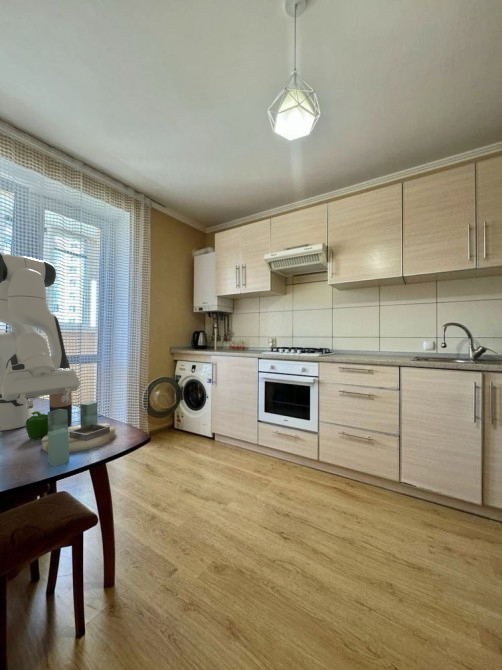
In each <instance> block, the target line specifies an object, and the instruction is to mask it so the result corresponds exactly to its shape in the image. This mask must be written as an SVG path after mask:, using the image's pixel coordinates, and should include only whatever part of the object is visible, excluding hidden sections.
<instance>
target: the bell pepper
mask: <svg viewBox="0 0 502 670" xmlns="http://www.w3.org/2000/svg"><path fill="white" fill-rule="evenodd" d="M31 414H32V415H34V416H31V417H30V418H29V419H27V421H26V426H25V430H26V434H27V436H28V438H29V439H30V440H32V441H37V440H40V439H41V440H42V439H43V437H45V436H46V435H48V414H46V413H41V412H40V411H38V410H37V411H34V412H32V413H31Z"/></svg>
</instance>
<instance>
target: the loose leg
mask: <svg viewBox="0 0 502 670" xmlns="http://www.w3.org/2000/svg"><path fill="white" fill-rule="evenodd" d="M47 454H48V456H47V457H48V458H47V459H48V461H47V462H48V464H49V465H51V466H52V467H56V466H59V465H62V464H65V463H68V462H70V453H69V431H68V430H66V429H64V428H63V429H58V430H54V431H50V432H48V452H47Z"/></svg>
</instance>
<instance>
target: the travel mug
mask: <svg viewBox="0 0 502 670" xmlns="http://www.w3.org/2000/svg"><path fill="white" fill-rule="evenodd" d="M72 392H73V391H72ZM72 392H69V395H68V397H69V401H68V402H66V403H63V401H62V397H63V396H65V395H64V393H59V394H52V395H48V396H49V397H48V398H49V403H48V405H49V411H53V410H58V409H64V410H67V414H68V427H71V425H72V419H73V418H72V417H73V416H72V412H73V400H72V399H73V398H72V397H73V395H72Z"/></svg>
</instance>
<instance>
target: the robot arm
mask: <svg viewBox="0 0 502 670" xmlns="http://www.w3.org/2000/svg"><path fill="white" fill-rule="evenodd" d="M56 278H57V271H56V267H55V266H54V265H53V263H51V262H48V261H46V260H39V259H36V258H33V257H28V256H23V255H22V256H20V255H13V254H3V253H1V252H0V322H2V323H3V324H6V325H8V326H10V327H11V332H0V432H1V431H9V430H14V429H18V428H23V427H26V421H27V419H29V418H30V417H31V416H35V414H34V415H32V414H31V413H32V412H35V411H34V403H33V400H30V398H37V397H44V396H49V395H52V394H59V393H64V395H65V396H63V397H62V401H63V403H66V402H68V401H69V397H68V395H69V392H76V391H78V390H79V388H80V387H81V380H80V378H79V377H78V376H77V372H76V370H74V369H71V366H70V362H69V359H68V356H67V352H66V349H65V348H66V347H65V344H64V340H63V336H62V330H61V326H60V325H61V324H60V323H59V320H58V318H57V316H56V315H55V314H53V313H52V312H51V311H50V309H49V307H48V304H47V289H46V288H48V287H51V286H52V285H54V284H55V281H56ZM37 329H38V330H40V331H42V332H44V334H45V335H46V337H47V338H46V337H45V336H44V335H43V334H42V333H40V332H39V331H38V330H37ZM48 345H49V346H48Z"/></svg>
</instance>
